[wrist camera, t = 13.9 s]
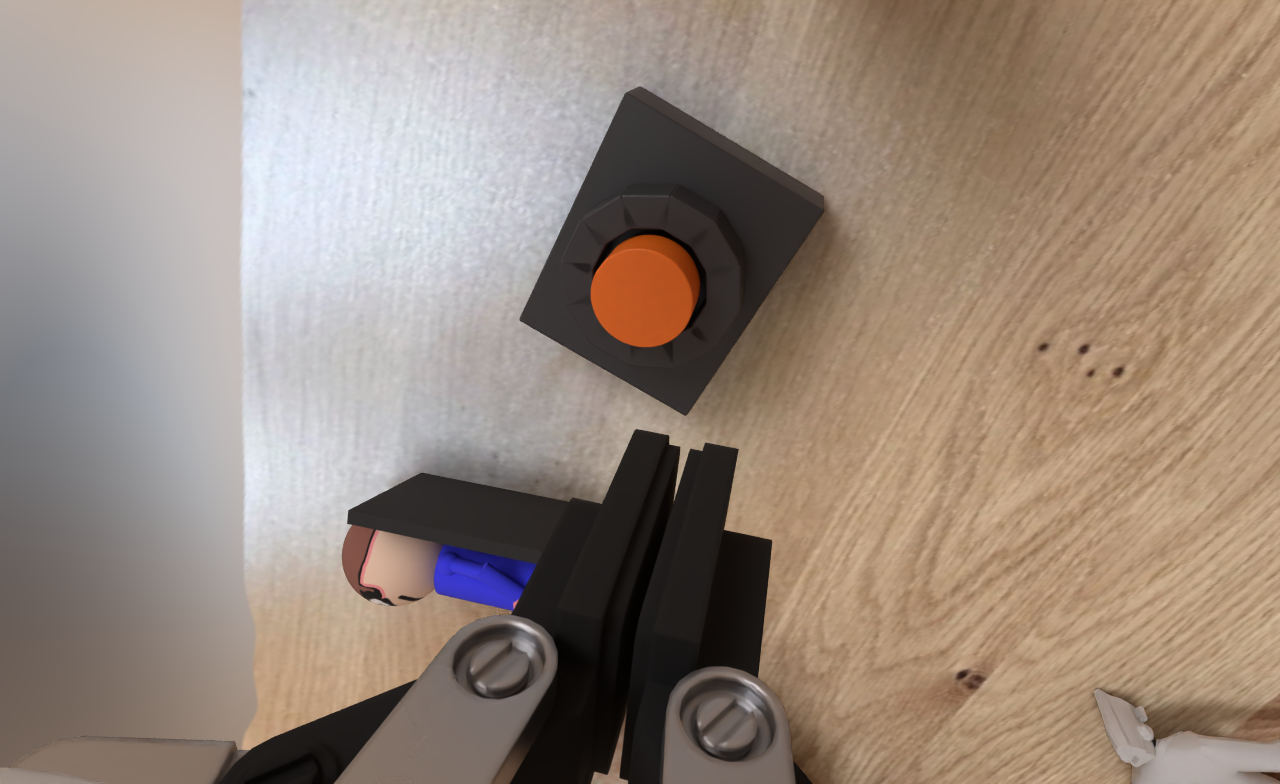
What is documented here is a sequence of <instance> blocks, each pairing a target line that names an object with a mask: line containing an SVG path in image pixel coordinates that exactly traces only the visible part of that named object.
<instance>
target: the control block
mask: <svg viewBox="0 0 1280 784" xmlns="http://www.w3.org/2000/svg"><path fill="white" fill-rule="evenodd" d="M823 213H824V196H823V195H821V194H820V193H818V192H816V191H815V190H813V189H811V188H810V187H808V186H806V185H804V184H803V183H801V182H799V181H798V180H796V179H794V178H793V177H791V176H789V175H788V174H786V173H784V172H783V171H781V170H779V169H778V168H776V167H774V166H773V165H771V164H769V163H768V162H766V161H764V160H763V159H761V158H759V157H758V156H756V155H754V154H753V153H751V152H749V151H748V150H746V149H744V148H743V147H741V146H739V145H738V144H736V143H734V142H733V141H731V140H729V139H728V138H726V137H724V136H723V135H721V134H719V133H718V132H716V131H714V130H713V129H711V128H709V127H708V126H706V125H704V124H703V123H701V122H699V121H698V120H696V119H694V118H693V117H691V116H689V115H688V114H686V113H684V112H683V111H681V110H679V109H678V108H676V107H674V106H673V105H671V104H669V103H668V102H666V101H664V100H663V99H661V98H659V97H658V96H656V95H654V94H653V93H651V92H649V91H647V90H646V89H644V88H642V87H640V86H639V87H637V88H635V89H633V90H630V91H628V92H626V93H625V95H624V97H623V99H622V101H621V103H620V105H619V107H618V110H617V112H616V114H615V116H614V118H613V120H612V122H611V125H610V127H609V129H608V131H607V133H606V135H605V137H604V139H603V142H602V144H601V146H600V148H599V150H598V152H597V154H596V157H595V159H594V161H593V163H592V165H591V167H590V169H589V172H588V174H587V176H586V178H585V180H584V182H583V184H582V186H581V189H580V191H579V193H578V195H577V197H576V199H575V201H574V204H573V206H572V208H571V210H570V212H569V214H568V216H567V218H566V221H565V223H564V225H563V227H562V229H561V231H560V233H559V236H558V238H557V240H556V242H555V244H554V246H553V248H552V250H551V253H550V255H549V257H548V259H547V261H546V263H545V265H544V268H543V270H542V272H541V274H540V276H539V278H538V280H537V283H536V285H535V287H534V289H533V291H532V293H531V295H530V297H529V300H528V302H527V304H526V306H525V308H524V310H523V312H522V315H521V317H520V321H521V322H523V323H525V324H526V325H528V326H530V327H532V328H533V329H535V330H537V331H539V332H540V333H542V334H544V335H546V336H547V337H549V338H551V339H553V340H554V341H556V342H558V343H560V344H561V345H563V346H565V347H567V348H568V349H570V350H572V351H573V352H575V353H577V354H579V355H580V356H582V357H584V358H586V359H587V360H589V361H591V362H593V363H594V364H596V365H598V366H600V367H601V368H603V369H605V370H607V371H608V372H610V373H612V374H614V375H615V376H617V377H619V378H620V379H622V380H624V381H626V382H627V383H629V384H631V385H633V386H634V387H636V388H638V389H640V390H641V391H643V392H645V393H647V394H648V395H650V396H652V397H654V398H655V399H657V400H659V401H661V402H662V403H664V404H666V405H667V406H669V407H671V408H673V409H674V410H676V411H678V412H680V413H681V414H683V415H685V416H686V415H687V414H688V413H689V411H690V410H691V409H692V407H693V406H694V404H695V403H696V401H697V400H698V398H699V397H700V395H701V394H702V392H703V391H704V389H705V388H706V386H707V385H708V383H709V382H710V380H711V379H712V377H713V376H714V374H715V373H716V371H717V370H718V368H719V367H720V365H721V364H722V363H723V361H724V360H725V358H726V357H727V355H728V354H729V352H730V351H731V349H732V348H733V346H734V345H735V343H736V342H737V340H738V339H739V337H740V336H741V334H742V333H743V331H744V330H745V328H746V327H747V325H748V324H749V322H750V321H751V319H752V318H753V317H754V315H755V314H756V312H757V311H758V309H759V308H760V306H761V305H762V303H763V302H764V300H765V299H766V297H767V296H768V294H769V293H770V291H771V290H772V288H773V287H774V285H775V284H776V282H777V281H778V279H779V278H780V276H781V275H782V273H783V272H784V271H785V269H786V268H787V266H788V265H789V263H790V262H791V260H792V259H793V257H794V256H795V254H796V253H797V251H798V250H799V248H800V247H801V245H802V244H803V242H804V241H805V239H806V238H807V236H808V235H809V233H810V232H811V230H812V229H813V227H814V226H815V225H816V223H817V222H818V220H819V219H820V217H821V216H822V214H823ZM639 235H658V236H662V237H665V238H668V239H670V240H672V241H674V242H676V243H677V244H679V245H680V246H681V247H682V248H683V249H685V250H686V251H687V253H688V254H689V255H690V256H691V258H692V259H693V261H694V263H695V265H696V267H697V270H698V273H699V277H700V293H699V298H698V300H697V303H696V306H695V308H694V310H693V313H692V315H691V318H690V320H689V322H688V324H687V326H686V327H685V328H684V330H683V331H682V332H681V333H680V334H679V335H678V336H677V337H676V338H674V339H673V340H671V341H669V342H668V343H665V344H663V345H659V346H655V347H637V346H632V345H629V344H626V343H624V342H622V341H620V340H618V339H616V338H615V337H613V336H612V335H611V334H610V333H608V332H607V331H606V330H605V329H604V327H603V326H602V325H601V324H600V322H599V320H598V319H597V317H596V315H595V312H594V310H593V306H592V302H591V285H592V281H593V278H594V276H595V273H596V271H597V270H598V268H599V267H600V266H601V264H602V263H603V262H604V261H605V259H606V258H607V257H608V256H609V255H610V253H611V252H612V251H613V250H614V249H615V248H616V247H617V246H618V245H619V244H620V243H622V242H623V241H625V240H627V239H629V238H631V237H635V236H639Z"/></svg>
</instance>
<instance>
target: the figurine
mask: <svg viewBox="0 0 1280 784" xmlns="http://www.w3.org/2000/svg"><path fill="white" fill-rule="evenodd" d="M1094 695H1095V698H1096V701H1097V703H1098V706H1099V709H1100V712H1101V715H1102V718H1103V721H1104V726H1105V730H1106V734H1107V736H1108V738H1109V740H1110V742H1111V743H1112V747H1113V749H1114V750H1115V751H1116V753H1117V754H1118V755H1119V757H1120V759H1121V760H1122V761H1124V762H1125V763H1128V762H1129V763H1130V764H1131V765H1132V766H1133V768H1132V775H1131V783H1132V784H1280V781H1279V780H1276V779H1274V778H1272V777H1270V776H1268V775H1265V774H1262V773H1260V772H1280V738H1277V739H1275V740H1272V741H1265V742H1263V741H1254V740H1246V739H1238V738H1229V737H1211V736H1204V735H1198V734H1195V733H1193V732H1191V731H1186V732H1183V731H1180V732H1177V733H1175V734H1172V735H1170V736H1169V737H1166V738H1162V739H1156V738H1153V731H1152V729H1151V728H1150V727H1149V726H1148V725H1146V724H1143V722H1145V721H1147V720H1148V718H1147V716H1146V713H1145V710H1144V708H1143V707H1142V706H1138V707H1136V708H1135V706H1133V705H1131V704H1129V703H1128V702H1126V701H1124V700H1122V699H1120V698H1118V697H1114V696H1110V695H1109V694H1107V693H1105V692H1104V691H1102V690H1100V689H1099V688H1098V689H1097V690H1095V691H1094ZM1152 739H1153V740H1152Z"/></svg>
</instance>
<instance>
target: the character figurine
mask: <svg viewBox="0 0 1280 784" xmlns="http://www.w3.org/2000/svg"><path fill="white" fill-rule="evenodd" d="M568 503H569V502H566V501H561V500H556V499H551V498H546V497H541V496H536V495H531V494H526V493H521V492H516V491H511V490H506V489H501V488H496V487H491V486H486V485H481V484H476V483H471V482H466V481H460V480H455V479H450V478H445V477H440V476H435V475H430V474H425V473H420V474H418V475H416V476H414V477H412V478H410V479H408V480H406V481H404V482H403V483H401V484H399V485H397V486H395V487H393V488H391V489H389V490H387V491H385V492H383V493H381V494H379V495H377V496H375V497H373V498H371V499H370V500H368V501H366V502H364V503H362V504H360V505H358V506H356V507H354V508H352V509H350V510H348V521H347V524H351V525H352V526H351V528H350V529H349V531H348V533H347V535H346V538H345V541H344V544H343V549H342V564H343V569H344V573H345V575H346V578H347V580H348V581H349V583H350V585H351V586H352V587H353V588H354V590H355V591H356V592H357V593H359V594H360V595H361V596H362V597H364V598H365V599H367V600H369V601H371V602H374V603H377V604H380V605H386V606H400V605H406V604H410V603H413V602H415V601H418V600H420V599H422V598H423V597H425V596H426V595H428V594H429V593H431V592H432V591H433V590H434V589H435V590H436V592H437V593H438V594H441V595H445V596H450V597H454V598H458V599H463V600H467V601H472V602H476V603H481V604H485V605H489V606H494V607H498V608H503V609H507V610H512V611H513V610H514V608H515V606H516V604H517V602H518V600H519V598H520V596H521V594H522V592H523V590H524V588H525V586H526V584H527V582H528V580H529V578H530V576H531V574H532V573H533V571H534V569H535V567H536V565H537V563H538V561H539V559H540V557H541V555H542V553H543V551H544V549H545V547H546V545H547V543H548V541H549V539H550V537H551V535H552V533H553V531H554V529H555V527H556V525H557V523H558V521H559V519H560V517H561V515H562V513H563V511H564V510H565V508H566V506H567V504H568Z"/></svg>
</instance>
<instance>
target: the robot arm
mask: <svg viewBox="0 0 1280 784" xmlns="http://www.w3.org/2000/svg"><path fill="white" fill-rule="evenodd" d="M738 450H739V449H736V448H731V447H726V446H721V445H715V444H710V443H705V445H704V448H703V451H699V450H694V449H690V451H689V454H688V458H687V461H686V464H685V467H684V471H683V474H682V477H681V481H680V484H679V487H678V491H677V494H676V497H675V500H674V494H675V487H676V479H677V472H678V464H679V457H680V447H679V446H674V445H669V435H664V434H659V433H654V432H649V431H643V430H638V429H636V430H635V431H634V433H633V435H632V438H631V440H630V442H629V444H628V447H627V449H626V451H625V453H624V456H623V458H622V460H621V462H620V465H619V467H618V469H617V472H616V474H615V476H614V478H613V481H612V483H611V485H610V487H609V490H608V492H607V494H606V497H605V499H604V501H603V503H602V504H600V503H595V502H590V501H585V500H581V499H576V498H572V499H571V500H570V501H569V503H568V504H567V506H566V508H565V510H564V511H563V513H562V515H561V517H560V519H559V521H558V523H557V525H556V527H555V529H554V531H553V533H552V535H551V537H550V539H549V541H548V543H547V545H546V547H545V549H544V551H543V553H542V555H541V557H540V559H539V561H538V563H537V565H536V567H535V569H534V571H533V573H532V574H531V576H530V578H529V580H528V582H527V584H526V586H525V588H524V590H523V592H522V594H521V596H520V598H519V600H518V602H517V604H516V606H515V608H514V610H513V612H512V614H511V615H494V616H490V617H486V618H482V619H478V620H476V621H474V622H472V623H470V624H468V625H467V626H465V627H463V628H461V629H460V630H459V631H458V632H457V633H456V634H455V635H454V636H453V637H452V638H451V639H450V640H449V641H448V642H447V643H446V645H445V646H444V647H443V648H442V650H441V651H440V652H439V653H438V655H437V656H436V657H435V658H434V660H433V661H432V662H431V663H430V664H429V666H428V667H427V668H426V669H425V671H424V672H423V673H422V674H421V676H420V677H419V678H418V679H416V680H414V681H411V682H409V683H407V684H404V685H402V686H399V687H397V688H394V689H392V690H389V691H387V692H384V693H382V694H379V695H377V696H374V697H372V698H369V699H367V700H364V701H362V702H359V703H357V704H354V705H352V706H349V707H347V708H345V709H342V710H340V711H337V712H335V713H332V714H330V715H327V716H325V717H322V718H320V719H317V720H315V721H312V722H310V723H307V724H305V725H302V726H300V727H297V728H295V729H292V730H290V731H287V732H285V733H283V734H280V735H278V736H275V737H273V738H271V739H269V740H267V741H265V742H263V743H261V744H260V745H258V746H256V747H254V748H252V749H251V750H237V747H236V743H235V741H214V740H185V739H184V740H183V739H154V738H153V739H152V738H124V737H93V736H81V737H73V738H65V739H60V740H57V741H54V742H52V743H49V744H47V745H44V746H41V747H39V748H37V749H35V750H33V751H32V752H30V753H28V754H27V755H25V756H24V757H22V758H21V759H19V760H18V761H16V762H15V763H13V764H12V765H11V766H10V767H9V768H0V784H591V782H592V779H593V775H594V772H597V773H601V774H605V775H608V773H609V770H610V767H611V764H612V760H613V757H614V753H615V750H616V746H617V743H618V739H619V735H620V732H621V728H622V725H623V721H624V718H625V714H626V721H625V730H624V739H623V748H622V756H621V765H620V774H619V778H620V779H623V780H627V781H628V784H812V782H811V781H810V780H809V779H808V778H807V776H806V775H805V774H804V773H803V772H802V770H801V769H800V768H799V767H798V765H797V764H796V763H795V762H794V761H793V756H792V747H791V738H790V729H789V723H788V719H787V716H786V712H785V709H784V706H783V705H782V703H781V702H780V700H779V699H778V697H777V696H776V694H775V693H774V692H773V691H772V690H771V689H770V688H769V687H768V686H767V685H766V684H765V683H763V682H762V681H761V680H760V679H758V672H759V663H760V653H761V644H762V634H763V625H764V615H765V606H766V597H767V587H768V578H769V568H770V559H771V549H772V540H769V539H764V538H760V537H755V536H750V535H746V534H741V533H736V532H731V531H727V530H724V527H725V522H726V516H727V511H728V505H729V500H730V494H731V489H732V483H733V478H734V472H735V467H736V461H737V455H738ZM673 502H674V504H673ZM626 711H627V712H626Z"/></svg>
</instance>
